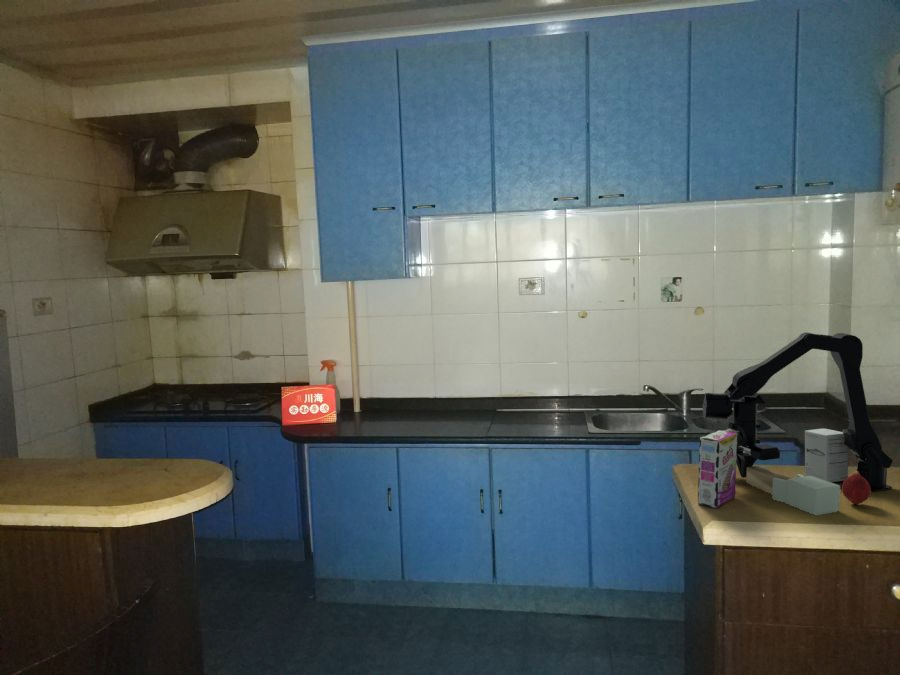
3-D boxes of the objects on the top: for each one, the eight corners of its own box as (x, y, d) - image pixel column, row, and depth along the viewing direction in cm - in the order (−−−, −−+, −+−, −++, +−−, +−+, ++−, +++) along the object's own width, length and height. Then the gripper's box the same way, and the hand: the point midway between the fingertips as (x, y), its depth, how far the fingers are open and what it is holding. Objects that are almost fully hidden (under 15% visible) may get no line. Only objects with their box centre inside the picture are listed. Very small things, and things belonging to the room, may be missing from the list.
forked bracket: (799, 494, 159) (799, 470, 159) (841, 510, 148) (842, 485, 148) (771, 499, 157) (771, 474, 156) (812, 515, 145) (813, 489, 145)
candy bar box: (717, 509, 151) (719, 440, 149) (696, 504, 154) (698, 437, 153) (737, 497, 158) (738, 432, 157) (716, 493, 162) (717, 429, 160)
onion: (874, 509, 149) (876, 475, 148) (847, 508, 150) (848, 474, 149) (864, 501, 154) (865, 468, 154) (837, 499, 156) (838, 467, 155)
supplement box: (803, 476, 174) (803, 430, 173) (826, 473, 176) (825, 427, 175) (826, 483, 167) (826, 434, 166) (849, 480, 169) (849, 432, 168)
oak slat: (757, 482, 170) (758, 465, 169) (792, 496, 158) (793, 479, 158) (746, 483, 169) (746, 466, 169) (780, 498, 157) (781, 480, 157)
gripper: (695, 415, 176) (694, 470, 177) (746, 429, 158) (745, 491, 160) (729, 411, 179) (727, 466, 181) (782, 426, 162) (780, 486, 163)
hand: (743, 477), depth 171 cm, fingers closed
